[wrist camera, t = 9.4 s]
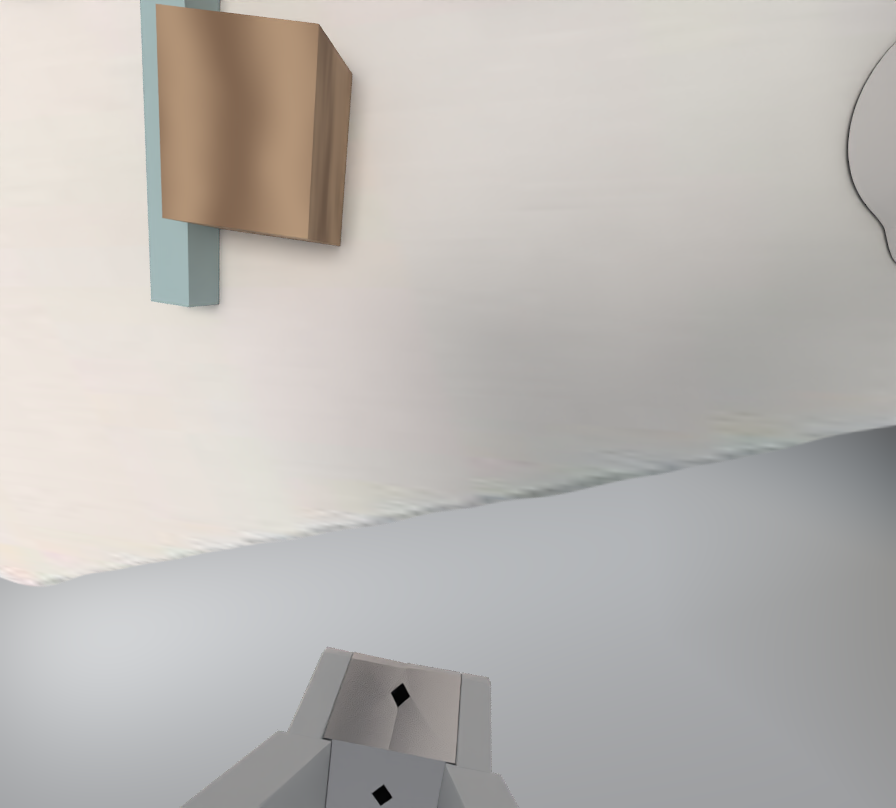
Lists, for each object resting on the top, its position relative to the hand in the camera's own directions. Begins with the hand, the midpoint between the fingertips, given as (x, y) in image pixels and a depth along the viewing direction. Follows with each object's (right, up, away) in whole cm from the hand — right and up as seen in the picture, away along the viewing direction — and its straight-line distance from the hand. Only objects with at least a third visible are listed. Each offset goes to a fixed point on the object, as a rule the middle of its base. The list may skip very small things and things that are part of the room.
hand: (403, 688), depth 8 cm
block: (-12, +24, +27) cm, 38 cm away
